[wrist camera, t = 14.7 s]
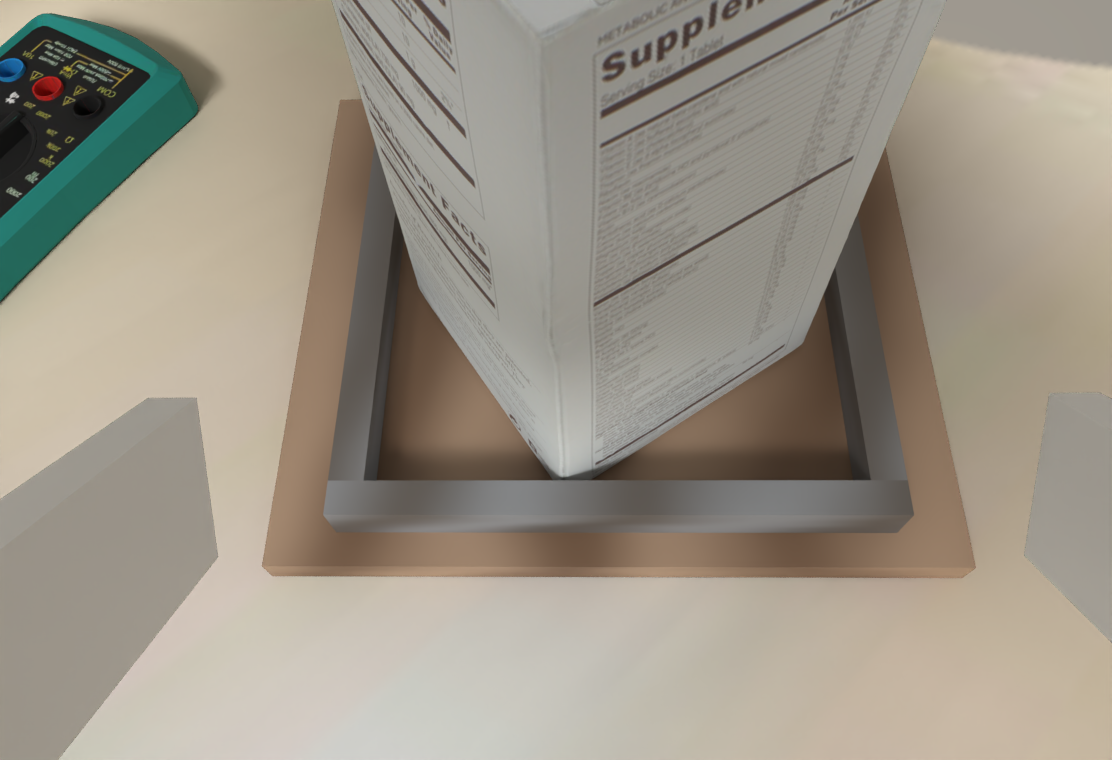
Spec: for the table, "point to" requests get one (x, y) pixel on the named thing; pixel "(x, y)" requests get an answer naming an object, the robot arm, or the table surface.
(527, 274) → the supplement box
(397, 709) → the table surface
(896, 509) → the carrier plate
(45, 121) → the digital multimeter
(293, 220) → the table surface
